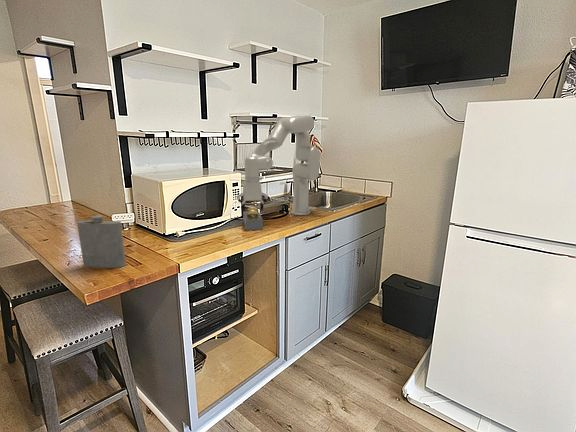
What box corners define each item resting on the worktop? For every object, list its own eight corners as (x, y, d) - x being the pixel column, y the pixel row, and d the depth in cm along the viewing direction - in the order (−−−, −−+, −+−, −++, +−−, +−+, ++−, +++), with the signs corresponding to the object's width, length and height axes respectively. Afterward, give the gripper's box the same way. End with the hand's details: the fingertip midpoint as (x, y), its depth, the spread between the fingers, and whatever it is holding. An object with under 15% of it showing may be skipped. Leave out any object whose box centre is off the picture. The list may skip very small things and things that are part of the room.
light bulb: (257, 222, 188) (257, 207, 186) (258, 225, 182) (258, 210, 180) (246, 222, 187) (246, 208, 185) (247, 225, 181) (247, 210, 179)
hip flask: (127, 264, 129) (121, 214, 124) (122, 268, 125) (116, 217, 120) (87, 263, 129) (79, 214, 124) (80, 267, 125) (72, 216, 120)
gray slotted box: (258, 219, 195) (258, 210, 194) (263, 229, 176) (262, 219, 175) (243, 220, 193) (243, 211, 192) (246, 230, 174) (245, 220, 173)
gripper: (267, 178, 184) (267, 208, 188) (235, 179, 180) (236, 209, 185) (269, 180, 176) (269, 211, 181) (236, 181, 173) (237, 213, 177)
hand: (252, 210), depth 183 cm, fingers open, 9 cm apart
